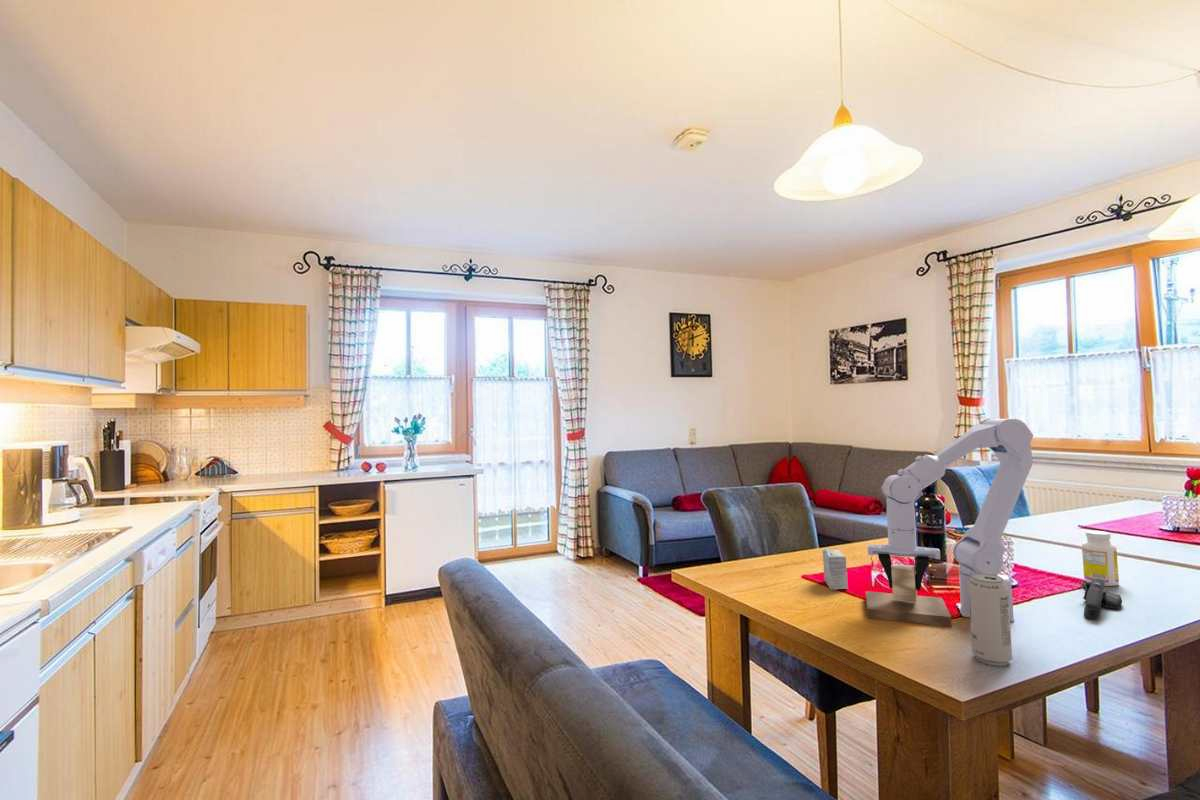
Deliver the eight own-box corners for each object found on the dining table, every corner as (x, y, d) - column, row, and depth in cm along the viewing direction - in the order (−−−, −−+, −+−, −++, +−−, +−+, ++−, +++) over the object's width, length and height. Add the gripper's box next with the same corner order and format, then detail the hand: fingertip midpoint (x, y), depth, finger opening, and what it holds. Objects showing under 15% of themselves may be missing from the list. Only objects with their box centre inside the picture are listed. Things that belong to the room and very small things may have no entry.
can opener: (1084, 597, 132) (1083, 573, 133) (1124, 604, 127) (1123, 579, 127) (1068, 617, 121) (1066, 591, 121) (1111, 625, 116) (1109, 598, 116)
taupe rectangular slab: (942, 606, 130) (941, 597, 130) (951, 626, 118) (951, 617, 118) (866, 599, 136) (865, 591, 136) (868, 618, 124) (867, 609, 124)
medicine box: (848, 590, 143) (846, 556, 144) (829, 590, 144) (828, 556, 144) (841, 581, 151) (839, 549, 151) (823, 581, 152) (822, 549, 152)
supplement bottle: (1105, 579, 145) (1101, 529, 145) (1126, 586, 138) (1123, 534, 138) (1077, 579, 145) (1074, 529, 146) (1097, 587, 139) (1094, 535, 139)
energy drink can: (975, 650, 106) (971, 570, 107) (1015, 658, 102) (1010, 576, 102) (969, 661, 102) (964, 578, 102) (1009, 670, 98) (1004, 584, 98)
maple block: (916, 596, 128) (915, 565, 128) (915, 602, 124) (914, 570, 124) (894, 593, 130) (893, 563, 130) (893, 599, 126) (891, 568, 127)
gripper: (935, 526, 128) (938, 585, 128) (865, 523, 134) (868, 580, 134) (940, 532, 122) (943, 595, 121) (866, 529, 128) (869, 589, 127)
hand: (904, 588), depth 127 cm, fingers closed on maple block, 5 cm apart
